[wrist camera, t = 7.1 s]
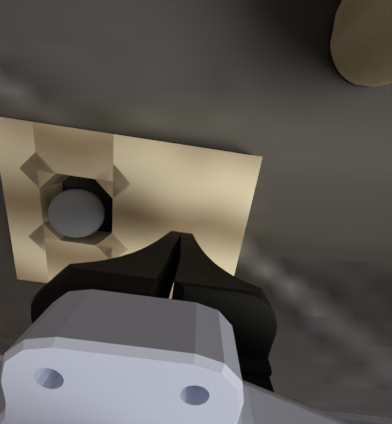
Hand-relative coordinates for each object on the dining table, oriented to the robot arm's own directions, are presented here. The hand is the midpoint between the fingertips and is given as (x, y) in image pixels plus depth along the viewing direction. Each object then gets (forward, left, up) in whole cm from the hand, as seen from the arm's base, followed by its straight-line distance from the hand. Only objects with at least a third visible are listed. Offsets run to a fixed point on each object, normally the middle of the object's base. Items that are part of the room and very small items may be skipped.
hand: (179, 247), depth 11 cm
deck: (0, +4, -5) cm, 7 cm away
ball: (0, +8, -4) cm, 9 cm away
